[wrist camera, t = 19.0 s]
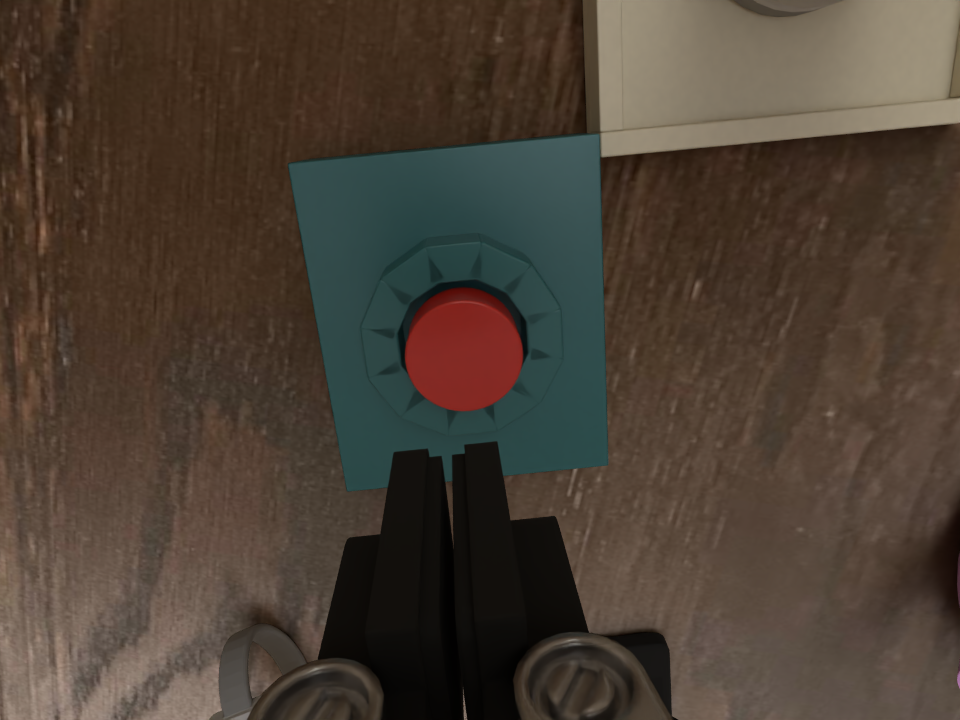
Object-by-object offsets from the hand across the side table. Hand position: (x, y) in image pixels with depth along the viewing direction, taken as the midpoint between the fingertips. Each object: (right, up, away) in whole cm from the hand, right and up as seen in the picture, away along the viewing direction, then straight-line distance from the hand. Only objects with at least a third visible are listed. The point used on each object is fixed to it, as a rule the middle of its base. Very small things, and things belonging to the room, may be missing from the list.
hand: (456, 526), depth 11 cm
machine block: (0, +5, +15) cm, 16 cm away
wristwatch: (-9, -11, +21) cm, 25 cm away
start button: (0, +3, +11) cm, 11 cm away
